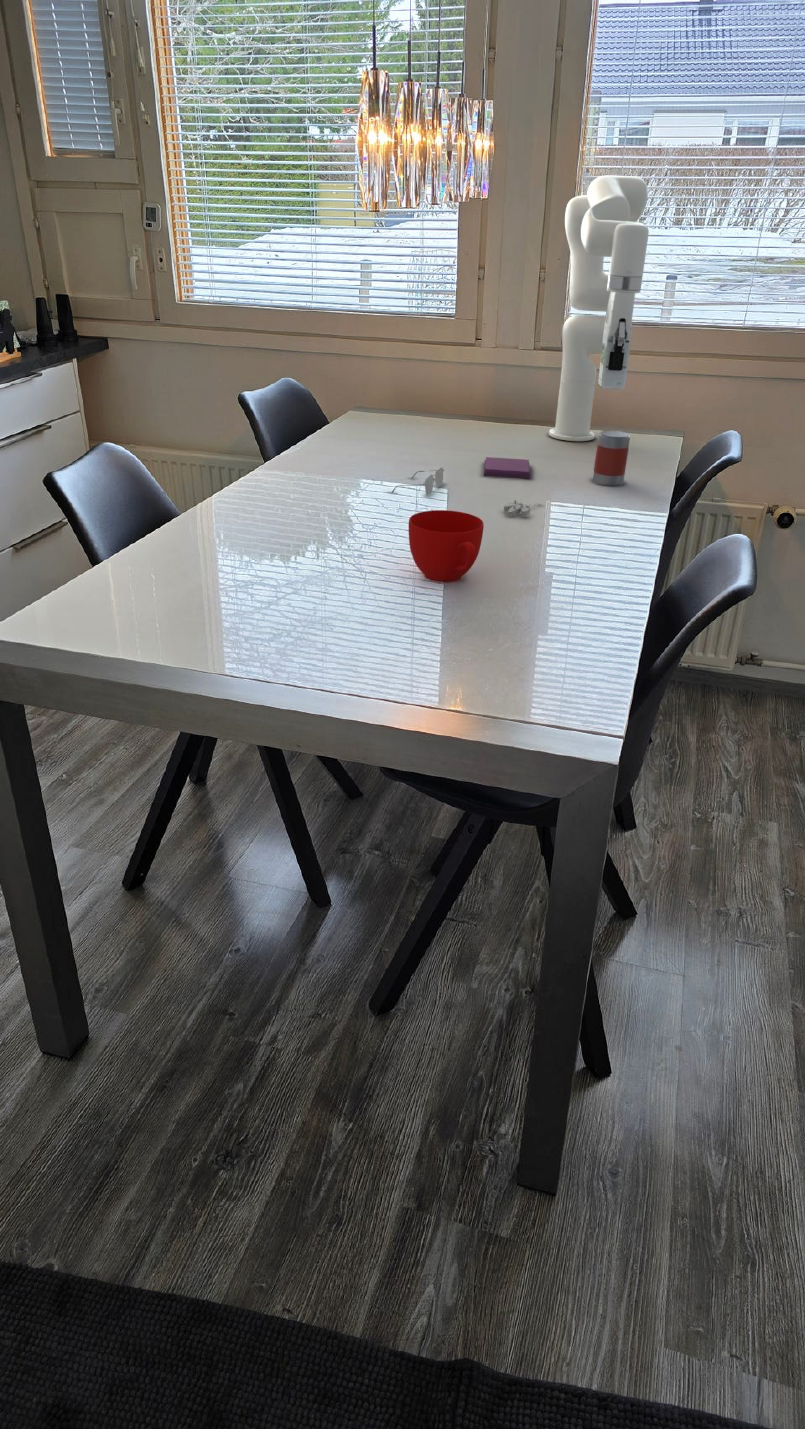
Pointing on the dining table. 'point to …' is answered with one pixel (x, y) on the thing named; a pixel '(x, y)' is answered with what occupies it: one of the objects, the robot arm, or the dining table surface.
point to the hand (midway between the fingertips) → (613, 367)
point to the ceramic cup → (444, 543)
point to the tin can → (611, 458)
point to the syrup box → (608, 377)
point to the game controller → (517, 508)
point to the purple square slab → (507, 467)
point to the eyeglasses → (430, 481)
